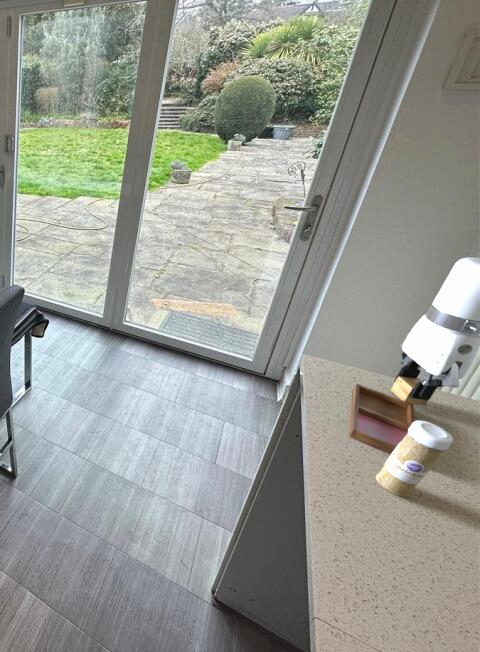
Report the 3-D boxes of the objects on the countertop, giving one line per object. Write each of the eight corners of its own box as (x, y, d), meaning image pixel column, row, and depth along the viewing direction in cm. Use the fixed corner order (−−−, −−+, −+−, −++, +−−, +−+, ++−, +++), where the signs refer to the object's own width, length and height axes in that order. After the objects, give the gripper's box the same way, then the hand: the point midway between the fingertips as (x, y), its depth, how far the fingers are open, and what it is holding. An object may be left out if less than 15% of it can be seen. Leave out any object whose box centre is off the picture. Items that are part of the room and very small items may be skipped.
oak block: (411, 392, 91) (419, 378, 89) (425, 405, 87) (434, 390, 85) (390, 390, 91) (398, 376, 90) (403, 402, 88) (412, 388, 86)
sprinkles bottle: (382, 492, 70) (423, 436, 64) (369, 470, 73) (407, 415, 67) (416, 502, 68) (461, 445, 62) (402, 479, 72) (443, 424, 66)
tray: (408, 411, 87) (413, 404, 86) (413, 464, 75) (419, 456, 74) (352, 390, 92) (356, 383, 91) (348, 436, 80) (353, 429, 79)
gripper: (519, 346, 72) (464, 422, 80) (442, 300, 87) (402, 368, 95) (468, 341, 74) (419, 416, 82) (401, 297, 89) (365, 364, 96)
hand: (411, 389), depth 88 cm, fingers closed on oak block, 3 cm apart
